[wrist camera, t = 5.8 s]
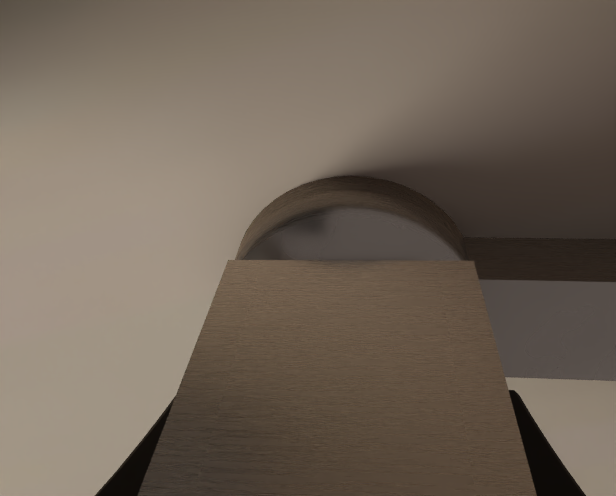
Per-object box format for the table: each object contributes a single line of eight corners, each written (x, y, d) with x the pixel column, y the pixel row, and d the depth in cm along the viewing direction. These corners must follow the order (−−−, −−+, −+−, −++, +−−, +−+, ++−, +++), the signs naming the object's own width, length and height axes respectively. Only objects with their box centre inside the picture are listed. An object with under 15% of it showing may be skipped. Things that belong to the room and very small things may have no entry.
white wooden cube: (455, 433, 14) (497, 713, 9) (253, 426, 14) (195, 689, 10) (473, 260, 11) (544, 523, 7) (228, 259, 12) (133, 503, 7)
